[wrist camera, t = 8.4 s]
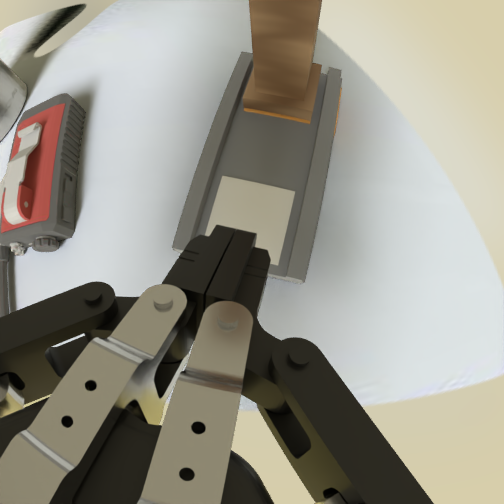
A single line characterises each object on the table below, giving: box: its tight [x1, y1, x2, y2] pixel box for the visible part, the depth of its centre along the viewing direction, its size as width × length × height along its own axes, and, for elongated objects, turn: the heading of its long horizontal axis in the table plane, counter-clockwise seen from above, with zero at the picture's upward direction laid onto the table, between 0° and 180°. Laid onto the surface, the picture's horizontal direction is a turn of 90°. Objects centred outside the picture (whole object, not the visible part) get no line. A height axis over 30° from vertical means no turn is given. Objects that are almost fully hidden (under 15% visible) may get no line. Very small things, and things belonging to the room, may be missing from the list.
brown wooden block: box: [243, 0, 322, 121], centre depth 12 cm, size 4×4×10 cm
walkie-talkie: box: [0, 94, 86, 317], centre depth 17 cm, size 9×4×20 cm
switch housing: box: [172, 52, 342, 284], centre depth 17 cm, size 7×14×3 cm, turn 166°
